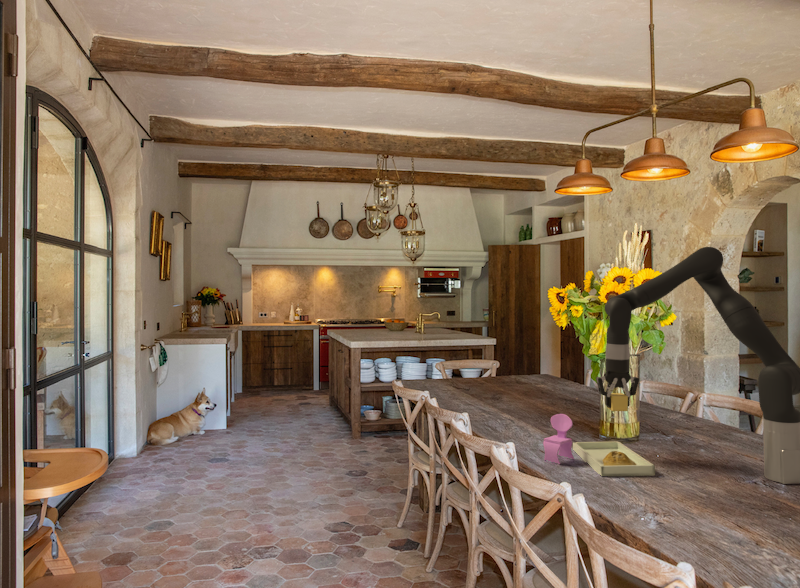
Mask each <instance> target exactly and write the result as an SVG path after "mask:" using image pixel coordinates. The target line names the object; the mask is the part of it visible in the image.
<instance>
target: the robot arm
mask: <svg viewBox="0 0 800 588" xmlns="http://www.w3.org/2000/svg"><path fill="white" fill-rule="evenodd" d="M723 264H724V256H723V253H722V252H721V251H720V249H718V248H716V247H713V246H704V247H701V248H699V249H697V250H696V251H693V253H691V254H690V255H688V256H687V257H686V258H684V259H683V260H681V261H680V262H679V263H677V264H676V265H674V266H672V267H670V268H668V270H666V271H664V272H662V273H660V274H658V275H657V276H655V277H653V278H651V279H649V280H648V281H645V282H643V283H641V284H639V285H636V286H635V287H634V288H632V289H630V290H627V291H625V292H622V293H619V294H617V295H615V296H613V297H611V298H609V299H608V300H607V301H605V302H606V303H605V304H604V312H605V313H606V315H607V316H608V317H609V322H608V323H609V325H608V327H607V328H606V337H605V339H606V345H605V373H604V375H602V376H595V379H596V380H595V381H596V384H597V389H598V393H599V394H600V395H601V396H604V397H605V398H604V404H605V406H606V408H607V407H608V408H611V397H610V396H611V393H613V392H614V389H617V388H620V389H621V390H622V393H623V394H625V395H627V396H628V407H630V405H631V404H630V403H631V399H630V398H631V397H632V396H635V395H636V393H637V390H638V385H639V382H640V378H639V377H637V376H631V374H630V369H631V367H630V366H631V365H630V363H631V361H630V360H631V359H630V357H631V353H630V345H629V344H630V333H629V332H630V327H631V326H630V325H631V321H632V311H634V310H637V309H639V308H644V307H646V306H649V305H651V304H652V303H655V302H657V301H658V300H661V299H662V298H664V297H665V296H668V295H669V294H670V293H671V292H672V291H674V290H675V289H677V288H678V287H679V286H680V285H682V284H683V283H685V282H687V281H688V280H690V279H694V280H695V281H696V283H697V284H698V285H699V286H700V288H701V289H702V290H703V291H704V292H705V293H706V295H707V296H708V297H709V299H710V301H711V302H712V304H713V306H714V307H715V309H716V311H717V312H718V314H719V316H720V317H721V319H722V320H723V322H724V324H725V325H726V326H727V328H728V330H729V331H730V333H731V334H732V335H733V336H734V337H735V339H737V341H739V342H740V343H742V344H743V345H744V346H745V347H747V349H749V350H750V351H752V352H753V353H754V354H755V355H756V356H757V357H758V358H759V359H760V360H761V362H762V363H763V365H764V366H765V367H763V368H762V369H761V370H760V373H759V374H758V380H757V382H758V383H757V384H758V385H757V387H758V389H757V390H758V399H759V401H758V402H759V403H758V404H759V408H760V410H761V412H762V419H763V420H762V423H763V424H762V427H763V428H762V430H763V431H762V432H763V435H762V436H763V438H762V439H763V470H764V471H763V474H764V477H765V478H766V479H767V480H769V481H773V482H777V483H780V484H783V485H786V484H787V485H790V484H798V485H799V484H800V410H799V409H797V408H795V406H794V398H793V397H794V396H795V395H798V394H800V366H799V365H798V364H797V363H796V362H795V360H793V358H792V357H791V356H790V355H789V353H788V352H787V351H786V350H785V349H784V348H783V347H782V346H781V344H780V343H779V342H778V340H777V339H776V336H775V335H774V334H773V332H772V331H771V329H769V327H768V326H767V324H766V323H765V322H764V320H763V318H762V317H761V315H760V313H759V312H758V311H757V310H756V308H755V306H754V305H753V304H752V303H751V302H750V301H749V300H748V299H747V298H746V297H744V296H743V295H742V294H740V293H739V292H738V291H736V290H735V289H734V288H733V287H732V285H730V283H729V282H728V281H727V279H726V277H725V276H724V274H723V271H722V267H723ZM605 380H606V382H607V384H606V389H605V386H604V383H605ZM629 382H630V383H631V384H630V388H629V386H628V383H629ZM608 408H607V409H608Z"/></svg>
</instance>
